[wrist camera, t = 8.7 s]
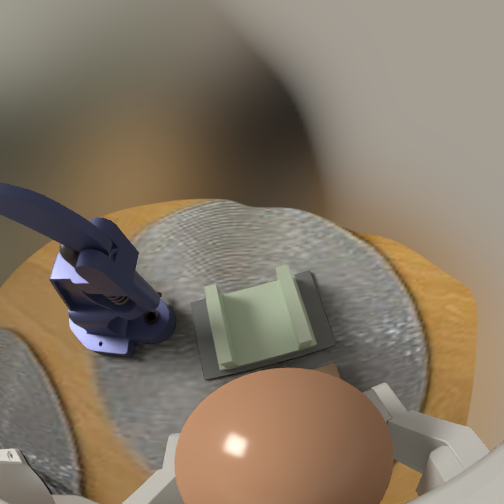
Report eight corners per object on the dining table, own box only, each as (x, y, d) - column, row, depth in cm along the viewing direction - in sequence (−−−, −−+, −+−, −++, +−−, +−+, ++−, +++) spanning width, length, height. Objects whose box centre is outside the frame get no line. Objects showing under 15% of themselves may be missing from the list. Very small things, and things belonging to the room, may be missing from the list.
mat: (205, 379, 28) (204, 379, 28) (191, 304, 33) (190, 302, 33) (335, 345, 28) (335, 344, 28) (309, 272, 33) (309, 270, 33)
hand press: (191, 288, 34) (50, 68, 10) (185, 360, 30) (-47, 187, 6) (73, 289, 36) (-65, 159, 12) (61, 347, 32) (-107, 238, 8)
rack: (222, 371, 28) (212, 365, 25) (208, 302, 32) (197, 288, 29) (316, 346, 28) (319, 337, 25) (294, 279, 33) (294, 262, 29)
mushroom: (253, 479, 11) (202, 561, 3) (233, 401, 13) (157, 389, 5) (341, 458, 11) (408, 517, 3) (320, 380, 13) (362, 340, 5)
